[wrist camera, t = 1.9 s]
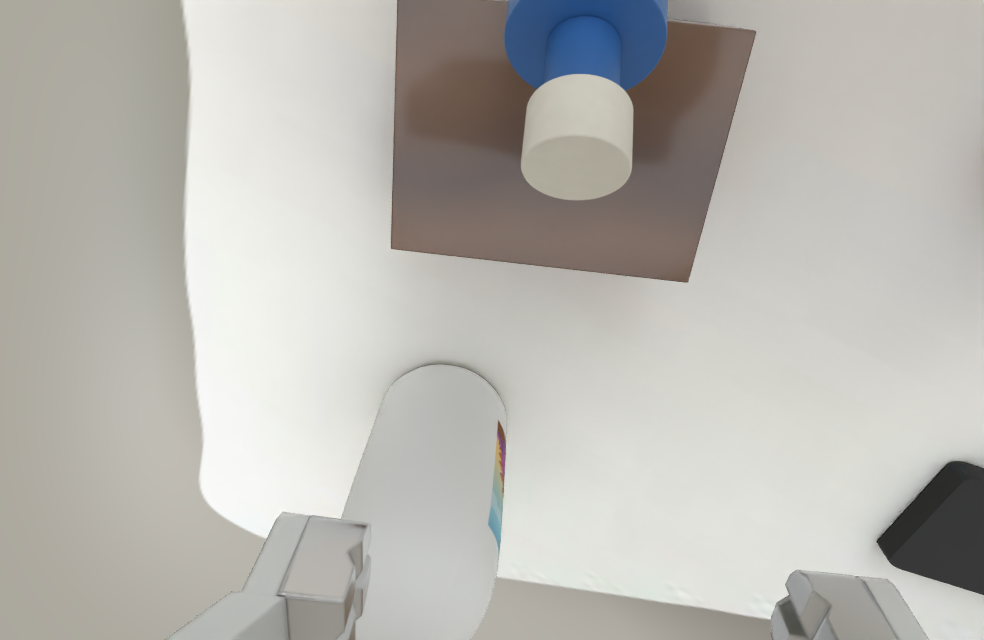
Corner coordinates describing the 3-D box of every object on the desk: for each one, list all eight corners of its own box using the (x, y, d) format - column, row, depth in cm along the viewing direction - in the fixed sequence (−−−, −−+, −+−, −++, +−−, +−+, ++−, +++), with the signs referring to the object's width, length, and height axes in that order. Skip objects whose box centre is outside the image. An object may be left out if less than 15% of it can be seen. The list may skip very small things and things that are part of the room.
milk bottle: (357, 411, 39) (212, 765, 21) (440, 335, 36) (353, 669, 18) (449, 481, 41) (388, 854, 23) (533, 414, 38) (538, 781, 20)
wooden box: (422, -10, 28) (397, -11, 22) (712, 23, 28) (757, 30, 22) (413, 207, 32) (390, 249, 27) (661, 235, 32) (688, 283, 27)
